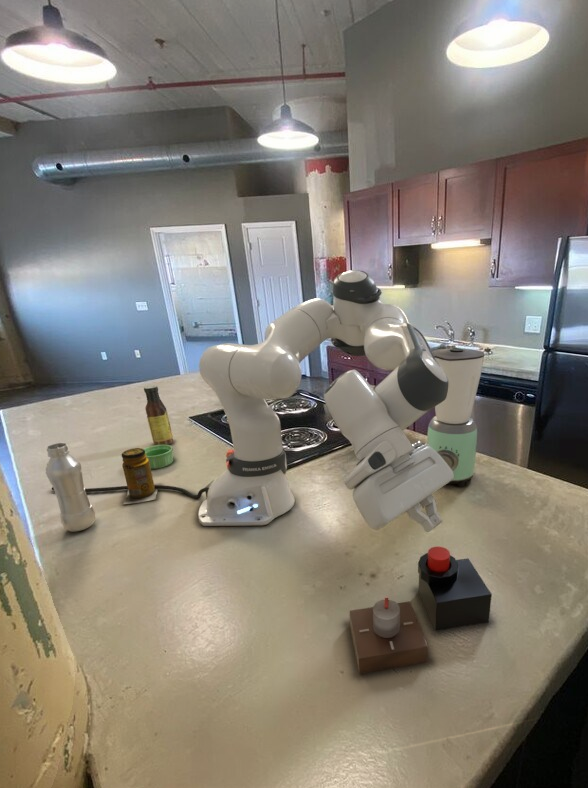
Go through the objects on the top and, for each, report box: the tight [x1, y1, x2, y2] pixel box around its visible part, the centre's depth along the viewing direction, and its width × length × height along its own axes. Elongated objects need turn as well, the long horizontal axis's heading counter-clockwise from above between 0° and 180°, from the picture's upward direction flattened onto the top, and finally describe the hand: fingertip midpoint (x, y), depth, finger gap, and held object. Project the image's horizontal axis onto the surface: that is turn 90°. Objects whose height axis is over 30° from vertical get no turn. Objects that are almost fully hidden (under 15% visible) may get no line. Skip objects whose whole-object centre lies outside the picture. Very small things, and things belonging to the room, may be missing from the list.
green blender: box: [426, 347, 486, 487], centre depth 110 cm, size 19×13×35 cm
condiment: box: [121, 447, 159, 505], centre depth 106 cm, size 7×8×12 cm
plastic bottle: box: [45, 442, 97, 532], centre depth 91 cm, size 6×7×20 cm
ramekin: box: [143, 444, 174, 470], centre depth 126 cm, size 9×9×4 cm
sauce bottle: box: [143, 385, 174, 446], centre depth 138 cm, size 6×6×20 cm
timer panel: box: [348, 600, 429, 675], centre depth 63 cm, size 10×9×3 cm
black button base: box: [417, 552, 492, 632], centre depth 69 cm, size 10×10×8 cm
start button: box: [427, 546, 451, 573], centre depth 69 cm, size 4×4×2 cm
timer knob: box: [372, 597, 400, 638], centre depth 62 cm, size 4×4×4 cm
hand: (434, 527), depth 67 cm, fingers closed
